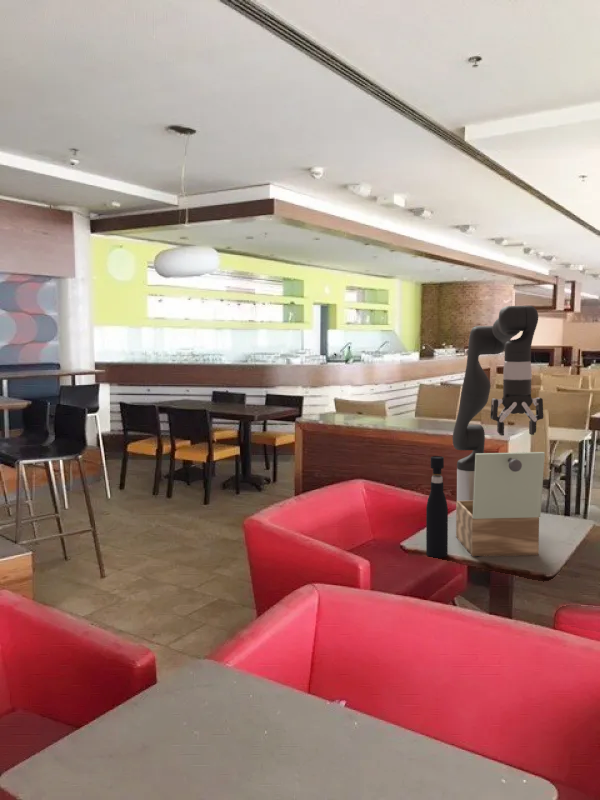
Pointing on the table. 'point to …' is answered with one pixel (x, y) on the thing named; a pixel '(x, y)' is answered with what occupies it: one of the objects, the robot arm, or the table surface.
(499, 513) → the lid
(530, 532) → the crate
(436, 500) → the wine bottle
